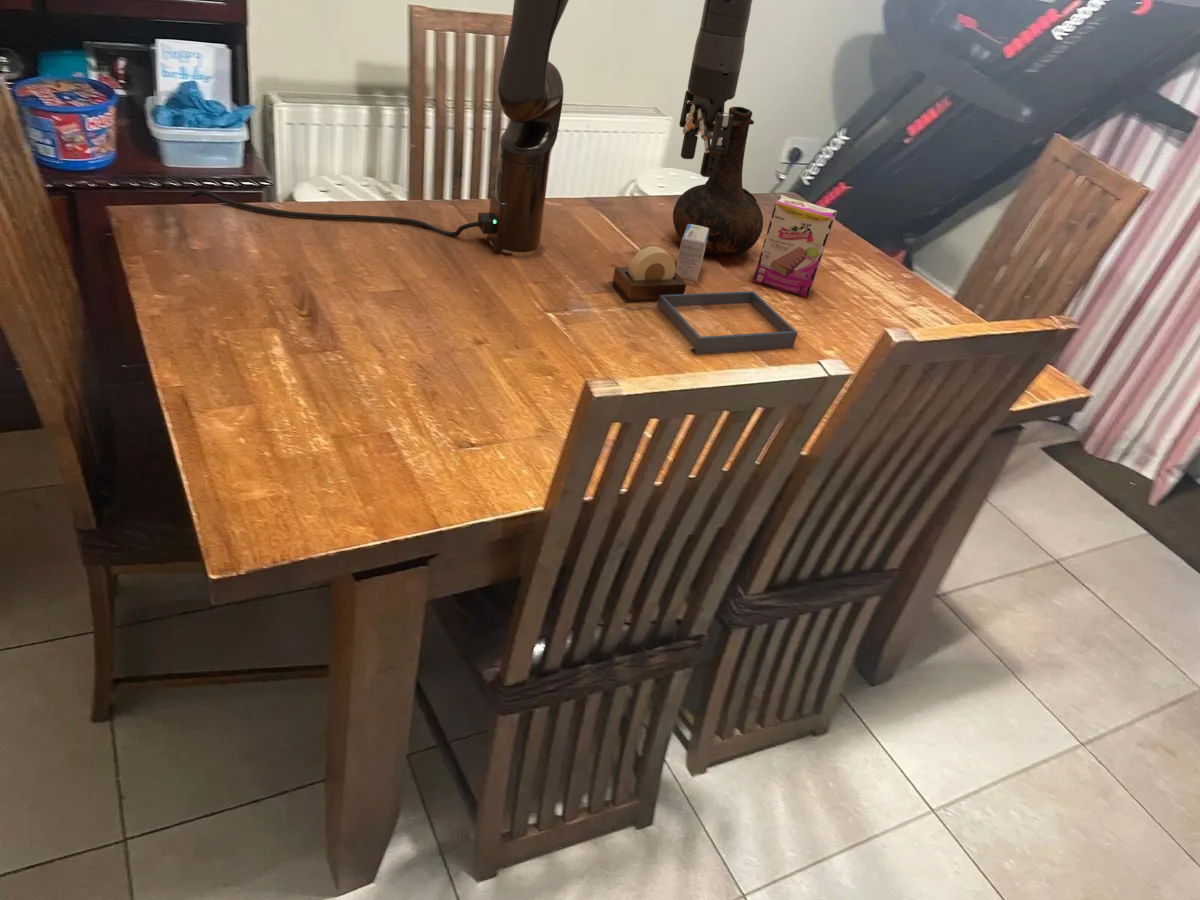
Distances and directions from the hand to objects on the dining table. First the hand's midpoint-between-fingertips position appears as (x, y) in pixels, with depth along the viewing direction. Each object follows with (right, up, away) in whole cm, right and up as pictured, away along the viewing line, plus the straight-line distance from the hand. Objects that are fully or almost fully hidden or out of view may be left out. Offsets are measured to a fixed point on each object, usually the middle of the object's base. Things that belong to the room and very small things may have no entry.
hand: (696, 167), depth 150 cm
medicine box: (+1, -13, +25) cm, 28 cm away
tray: (+6, -25, +9) cm, 27 cm away
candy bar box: (+19, -15, +27) cm, 37 cm away
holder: (-7, -19, +15) cm, 25 cm away
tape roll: (-7, -18, +14) cm, 24 cm away
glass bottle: (+7, -6, +37) cm, 38 cm away
